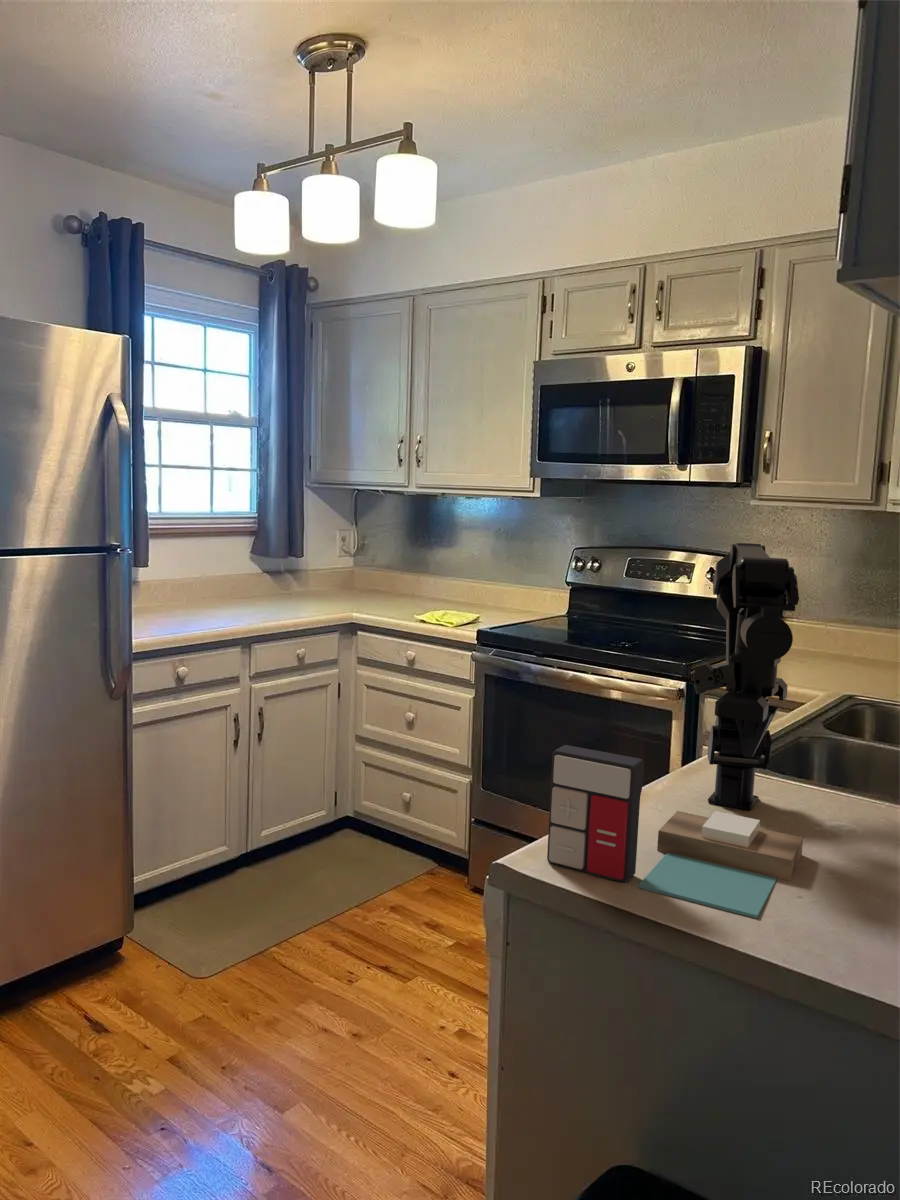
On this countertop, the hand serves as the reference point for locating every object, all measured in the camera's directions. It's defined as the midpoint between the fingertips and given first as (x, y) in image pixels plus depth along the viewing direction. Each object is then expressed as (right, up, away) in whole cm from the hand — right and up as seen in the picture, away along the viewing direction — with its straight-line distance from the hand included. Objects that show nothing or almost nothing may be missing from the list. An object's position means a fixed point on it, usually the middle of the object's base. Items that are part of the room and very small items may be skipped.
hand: (748, 756), depth 125 cm
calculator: (-24, -13, -11) cm, 30 cm away
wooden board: (-4, -12, -6) cm, 14 cm away
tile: (-4, -9, -6) cm, 11 cm away
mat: (-10, -13, -15) cm, 22 cm away
